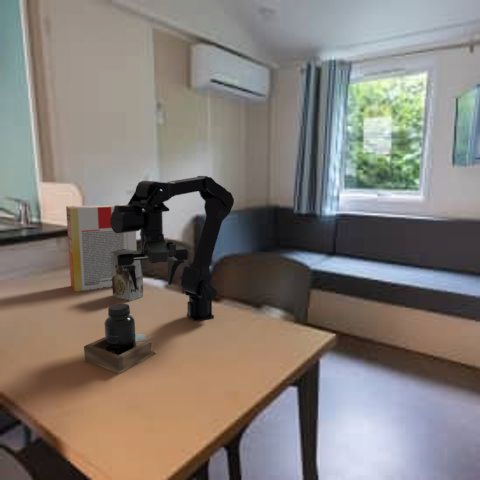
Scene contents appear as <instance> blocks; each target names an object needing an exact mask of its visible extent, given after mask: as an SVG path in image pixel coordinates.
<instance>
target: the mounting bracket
mask: <svg viewBox="0 0 480 480" xmlns="http://www.w3.org/2000/svg"><path fill="white" fill-rule="evenodd" d="M135 339H136V343H138V342H143V341H144V342H145V341H148V337H147V336H146V335H145V334H144V333H137V332H135Z"/></svg>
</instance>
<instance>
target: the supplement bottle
mask: <svg viewBox="0 0 480 480" xmlns="http://www.w3.org/2000/svg"><path fill="white" fill-rule="evenodd" d="M107 312H108V313H107V316H108V317H107V318H106V319H105V320H104V337H105V340H106V351H109V352H111V353H114V354H117V355H120V354H122V353H124V352H126V351H128V350H130V349H132V348H134V347H136V346H137V344H136V343H137V342H136V339H135V333H136V326H135V325H136V322H135V318H134V317H133V316H132V315H131V309H130V305H129V304H127V303H123V302H122V303H114V304H111V305H109V306H108V308H107Z"/></svg>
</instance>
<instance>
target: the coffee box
mask: <svg viewBox="0 0 480 480" xmlns="http://www.w3.org/2000/svg"><path fill="white" fill-rule="evenodd" d="M125 250H129V249H120V250H116V251H125ZM116 251H113V252H111V270H112V287H111V288H112V297H113V298H118V299H122V300H126V301H130V302H132V301H134V300H138V299H140V298H143V297H144V284H143V283H144V279H143V278H144V277H143V260H134V262H133V264H134V265H135V274H136V281H137V289H135V288H134V286H133V283H132V281H131V278H130V276H129V273H128V271H127V270H126V268H123V267H122V266H118V265H117V264H116V263H115V261H114V253H115V252H116ZM130 251H131V252H132V253H141V251H140V250H137V251H136V250H130Z"/></svg>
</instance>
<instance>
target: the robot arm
mask: <svg viewBox="0 0 480 480" xmlns="http://www.w3.org/2000/svg"><path fill="white" fill-rule="evenodd" d="M196 192H198V193H199V195H200V198H202V200H204V211H205V220H204V223H203V228H202V231H201V234H200V238H199V241H198V245H197V247H196V252H195V254H194V258H193V261H192V263H191V264H190V265H189V266H186V265H185V266H184V267H183V271H182V274H181V277H180V278H179V279H180V280H181V281H180V286H181V287H182V289H183V291H184V294H185V296H188V301H187V313H186V314H187V315H188V316H189V318H190V319H192V321H203V320H209V319H213V318H215V315H214V314H212V313H213V305H212V304H213V300H214V299H216V297H217V294H218V293H217V292H218V290H216V289H215V288H214V287H213V286H212V284H211V282H212V281H211V280H212V274H211V270H210V266H211V265H210V264H211V260H212V258H213V254H214V252H215V246H216V245H217V241H218V236H219V233H220V231H221V226H222V223H223V221H224V220H225V219H226V218H227V217H228V216H229V215H230V214H231V211H232V208H233V206H234V203H235V198H234V197H233V194H232V192H230V191H228V189H226V188H225V187H223V186H222V185H220V184H219V183H218V182H217V181H215V179H214V178H212V177H211V176H210V175H198V176H195V177H189V178H184V179H183V178H182V179H176V180H170V181H157V180H155V181H154V180H142V181H139V182H138V183H137V186H136V187H135V191H134V193H133V195H132V196H131V198H130V199H129V201H128V202H127V203H126V204H127V206H121V205H118V204H114V205H115V206H114V207H115V210H114V211H113V213H112V215H111V218H110V224H111V227H112V229H113V231H114V232H115V233H117V234H118V233H126V232H134V231H136V232H139V231H140V232H139V236H140V249H139V251H141V253H132V252H131V251H130V250H125V251H116V252H115V253H114V261H115V263H116V264H117V265H118V266H122V267H123V268H126V270H127V271H128V273H129V276H130V278H131V281H132V283H133V286H134V288H135V289H137V281H136V274H135V265H134V264H133V262H134V260H142V261H144V260H148V261H149V263H151V264H157V263H167V284H168V286H171V285H172V282H173V280H174V277H175V274H176V271H177V269H178V267H179V266H180V265H181V264H184V263H185V261H186V260H187V261H188V260H189V259H190V253H189V250H188V249H187V248H185V247H184V246H181V245H179V246H178V245H177V244H176V242H175V241H167V242H166V240H165V234H164V231H163V229H164V227H163V220H164V219H163V212H164V213H165V212H169V211H170V208H169V207H168V206H167V205H165V202H167V201H169V200H171V199H172V197H173V198H174V197H176V196H181V195H186V194H191V193H196Z"/></svg>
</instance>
